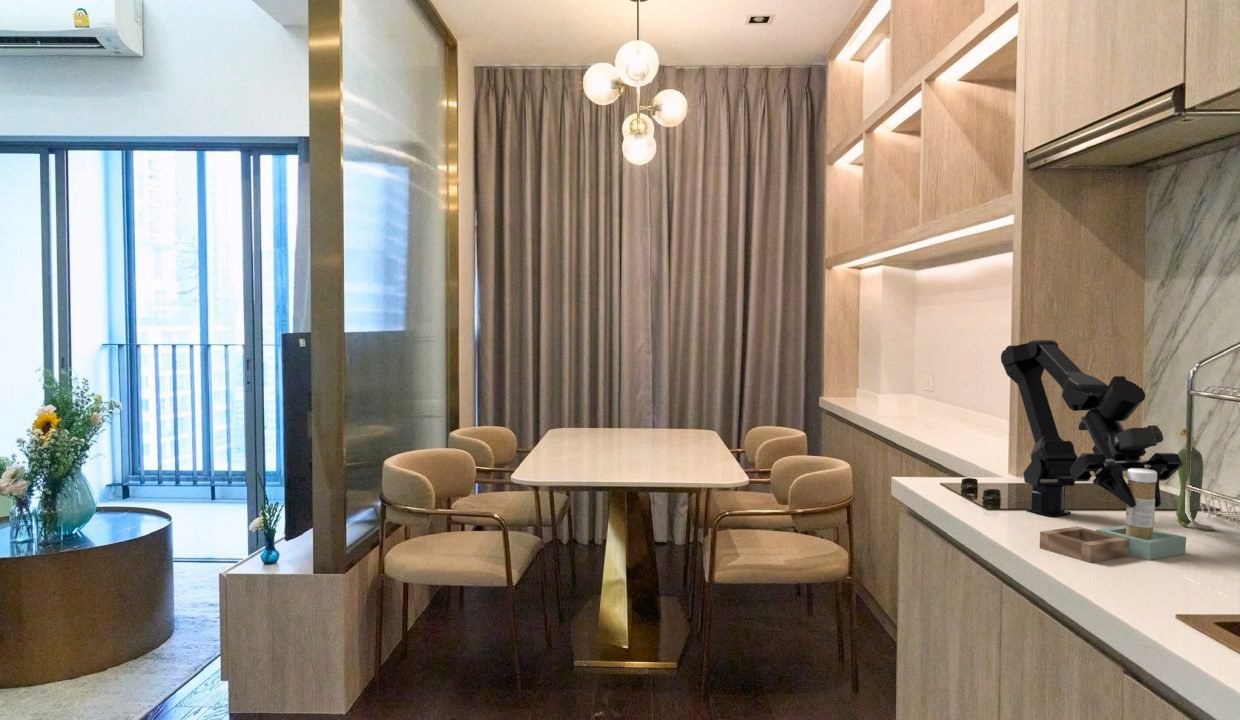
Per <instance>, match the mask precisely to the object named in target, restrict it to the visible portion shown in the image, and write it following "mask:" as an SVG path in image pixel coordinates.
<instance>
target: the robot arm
mask: <svg viewBox="0 0 1240 720" xmlns="http://www.w3.org/2000/svg"><path fill="white" fill-rule="evenodd" d="M1000 361H1001V364H1002V366H1003V368H1004V370H1005V371H1004V372H1005V373H1006V375H1007V377H1009V378H1010V379H1011V380H1012V381H1013V382H1015V384H1016V385H1017V386H1018V389H1019V393H1020V396H1021V400H1022V403H1023V406H1024V409H1025V413H1026V414H1025V415H1026V417H1027V420H1028V423H1029V427H1030V430H1031V434H1032V436H1033V441H1034V446H1033V447H1032V451H1031V453H1030V459H1031V462H1030V463H1029V465H1028V466H1027V467H1026V468H1025V470H1024V471H1023V473H1022V474H1023V479H1024V480H1023V482H1024V483H1025V484H1029V485H1032V487H1031V488H1032V491H1031V500H1030V501H1031V502H1030V504H1031V505H1030V507H1025V511H1026V512H1027V511H1028V512H1031V513H1032V512H1033V513H1036V514H1039V515H1043V516H1047V517H1057V516H1066V515H1072V512H1071V511H1070V510H1065V509H1066V508H1065V507H1066V486H1068V487H1074V486H1075V484H1076V482H1089V481H1090V479H1091V478H1092V474H1091V472H1093V473H1094V476H1095V478H1094V479H1093V480H1092V483H1093V485H1095V486H1096V485H1098V486H1099V487H1101V488H1103V489H1104V490H1105V491H1107V492H1109V493H1111V494H1112V495H1113V496H1115V497H1116V498H1118V499H1119V500H1120V501H1121V502H1122V503H1124V504H1126V506H1127V505H1128V506H1130V507H1134V506H1135V505H1136V503H1135V500H1134V498H1133V495H1132V493H1131V491H1130V489H1129V487H1128V483H1127V481H1126V480H1125V478H1124V473H1127V472H1128V469H1130V468H1143V469H1150V470H1154V471H1156V472H1157V482H1156V485H1155V508H1159V507H1160V506H1161V504H1162V502H1161V490H1160V482H1163V481H1166V480H1169V479H1170V478H1171V477H1172V476H1173V475H1174V474H1175V473H1176V472H1178V469H1179V468H1180V467H1181V466H1182V465H1183V462H1182V461H1181V459H1180V457H1179V456H1178V453H1175V452H1154V454H1153V455H1152V456H1151V457H1150V458H1149V459H1148V460H1146V459H1141V457H1144V456H1145V454H1146V453H1147V451H1146V449H1148V448H1150V447H1156V446H1158V444H1159V443H1160V444H1161V443H1162V442H1163V441H1164V435H1163V432H1162V430H1161V429H1160V428H1159V425H1147V426H1145V427H1130V428H1127V429H1125V428H1124V427H1123V425H1122V424H1121V422H1124V421H1127V420H1128V419H1129V418H1130V417H1131V416H1132V415H1133V414H1134V413H1135V411H1136V410H1137V409H1138V408H1139V406H1141V404H1142V403H1143V401H1144V400H1145V399H1146V393H1145V390H1144V389H1143V387H1140V386H1139V385H1137V384H1136V383H1134V382H1132V381H1130V380H1127V379H1126V377H1125V376H1124V375H1114V376H1113V377H1112V379H1111V380H1110V382H1109V383H1108V384H1107V383H1105V382H1104V381H1103V380H1101V379H1099V378H1097V377H1095V376H1092V375H1090V374H1086V373H1085V372H1083V371H1082V370H1081V369H1080V368H1079V367H1078V366H1077V365H1076V364H1075V363H1074V362H1073V361H1072V359H1071V358H1070V357H1069V356H1067V355H1066V353H1064V352H1063V351H1062V349H1060V347H1059V345H1058V342H1057V341H1055V340H1053V339H1035V340H1032V341H1029V342H1027V343H1021V344H1018V345H1008V346H1006V347H1005V349H1004V350H1002V352H1001V354H1000ZM1044 371H1046V372H1047V373H1048V374H1049V375H1050V376H1051V378H1053V379H1054V381H1055V382H1056V383H1057V384H1058V385H1059V386H1060V387H1061V389H1062V391H1061V397H1062V400H1063V401H1064V402H1065V404H1066V405H1067V407H1068V408H1069V409H1070V410H1071V411H1074V412H1086V414H1085V415H1084V416H1081V417H1080V418H1081V420H1080V422H1079V423H1078V430H1079V431H1087V432H1088V434H1089V436H1090V437H1091V440H1092V441H1093V444H1094V446H1093V447H1092V448H1091V449H1092V452H1082V453H1081V454H1080V455H1079V456H1077V454H1076V452H1075V447H1074V443H1073V442H1072V441H1071V440H1064V439H1063V438H1061V436H1060V434H1059V430H1058V428H1057V425H1056V424H1057V423H1056V421H1055V419H1054V416H1053V412H1052V408H1051V406H1050V402H1049V399H1048V396H1047V393H1046V390H1045V389H1046V388H1045V387H1044V383H1043V379H1042V376H1043V374H1044Z"/></svg>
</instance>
